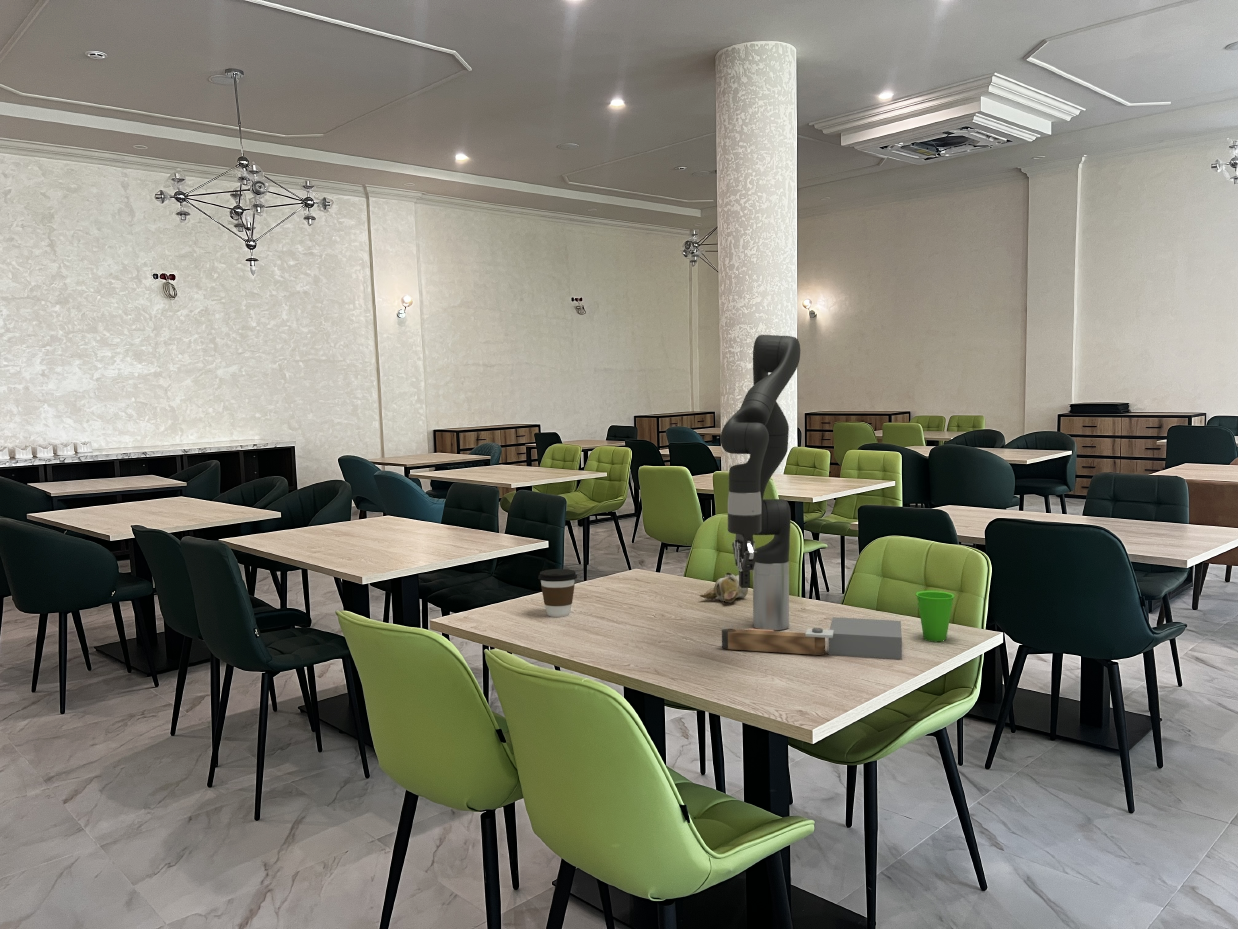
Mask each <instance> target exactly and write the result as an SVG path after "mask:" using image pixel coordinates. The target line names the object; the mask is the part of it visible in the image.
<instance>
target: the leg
mask: <svg viewBox="0 0 1238 929" xmlns="http://www.w3.org/2000/svg"><path fill="white" fill-rule="evenodd" d="M805 634H806V632H793V631H791V632H790V631H780V630H774V631H761V630H748V629H744V628H743V629H740V628H723V629H721V648H722V649H725V650H737V651H738V650H739V651H750V652H751V651H752V652H768V653H769V652H770V653H783V654H784V653H785V654H800V655H801V654H802V655H813V656H814V655H815V656H824V655H825V654H826V638H823V637H807V636H805Z"/></svg>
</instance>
